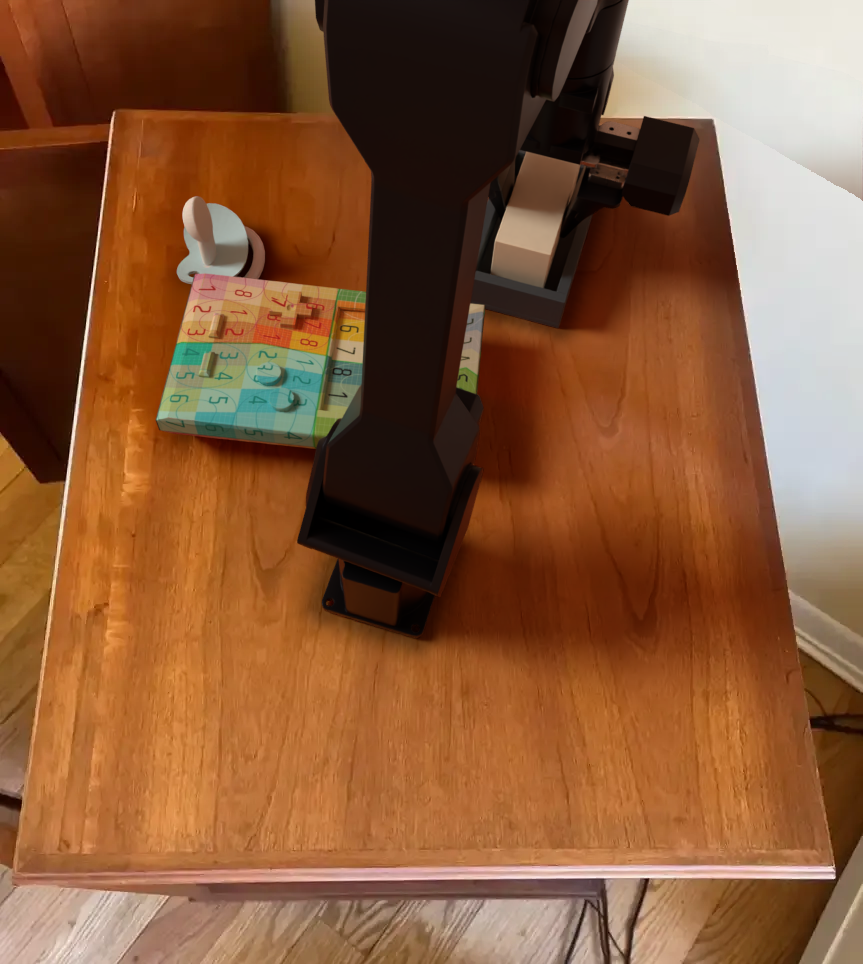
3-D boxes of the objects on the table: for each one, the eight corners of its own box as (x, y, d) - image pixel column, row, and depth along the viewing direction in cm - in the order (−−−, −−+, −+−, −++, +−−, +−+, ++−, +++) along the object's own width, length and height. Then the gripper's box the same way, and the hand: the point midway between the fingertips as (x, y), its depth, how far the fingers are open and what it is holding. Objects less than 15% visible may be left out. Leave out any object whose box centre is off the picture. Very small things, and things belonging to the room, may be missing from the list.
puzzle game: (191, 265, 69) (486, 296, 68) (203, 308, 73) (480, 337, 72) (152, 412, 63) (472, 446, 63) (166, 449, 67) (467, 482, 67)
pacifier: (270, 229, 77) (189, 223, 76) (264, 167, 71) (177, 162, 71) (260, 307, 73) (176, 302, 73) (253, 249, 68) (162, 243, 67)
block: (551, 254, 69) (583, 153, 74) (494, 240, 70) (530, 140, 74) (543, 291, 73) (574, 192, 78) (489, 277, 73) (523, 180, 78)
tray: (558, 328, 73) (565, 302, 70) (457, 301, 74) (460, 275, 71) (599, 194, 79) (606, 165, 77) (505, 170, 80) (509, 141, 77)
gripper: (742, -3, 64) (678, 179, 77) (456, -68, 65) (444, 121, 79) (713, 118, 58) (651, 290, 72) (404, 43, 60) (400, 224, 74)
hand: (534, 225), depth 75 cm, fingers closed on block, 4 cm apart
